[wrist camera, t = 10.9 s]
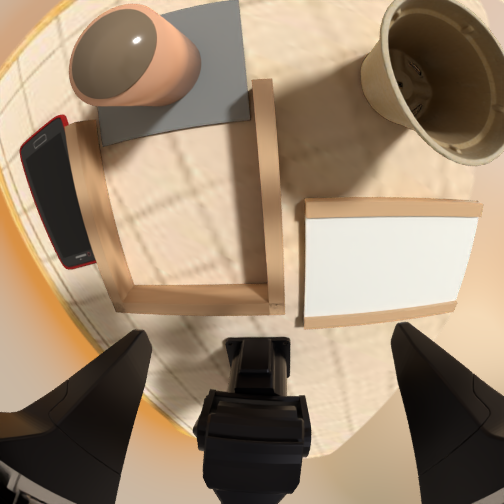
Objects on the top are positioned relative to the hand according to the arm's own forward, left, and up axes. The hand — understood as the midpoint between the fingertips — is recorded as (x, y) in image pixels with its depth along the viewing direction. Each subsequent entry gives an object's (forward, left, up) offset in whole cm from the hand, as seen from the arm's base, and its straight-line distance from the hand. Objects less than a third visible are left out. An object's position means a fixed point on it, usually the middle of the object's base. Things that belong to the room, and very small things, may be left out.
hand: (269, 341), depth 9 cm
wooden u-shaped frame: (+1, +7, -13) cm, 15 cm away
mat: (+12, +7, -13) cm, 19 cm away
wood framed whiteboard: (-5, -11, -13) cm, 18 cm away
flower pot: (+10, -10, -13) cm, 19 cm away
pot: (+12, +7, -13) cm, 19 cm away
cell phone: (+3, +19, -14) cm, 24 cm away
